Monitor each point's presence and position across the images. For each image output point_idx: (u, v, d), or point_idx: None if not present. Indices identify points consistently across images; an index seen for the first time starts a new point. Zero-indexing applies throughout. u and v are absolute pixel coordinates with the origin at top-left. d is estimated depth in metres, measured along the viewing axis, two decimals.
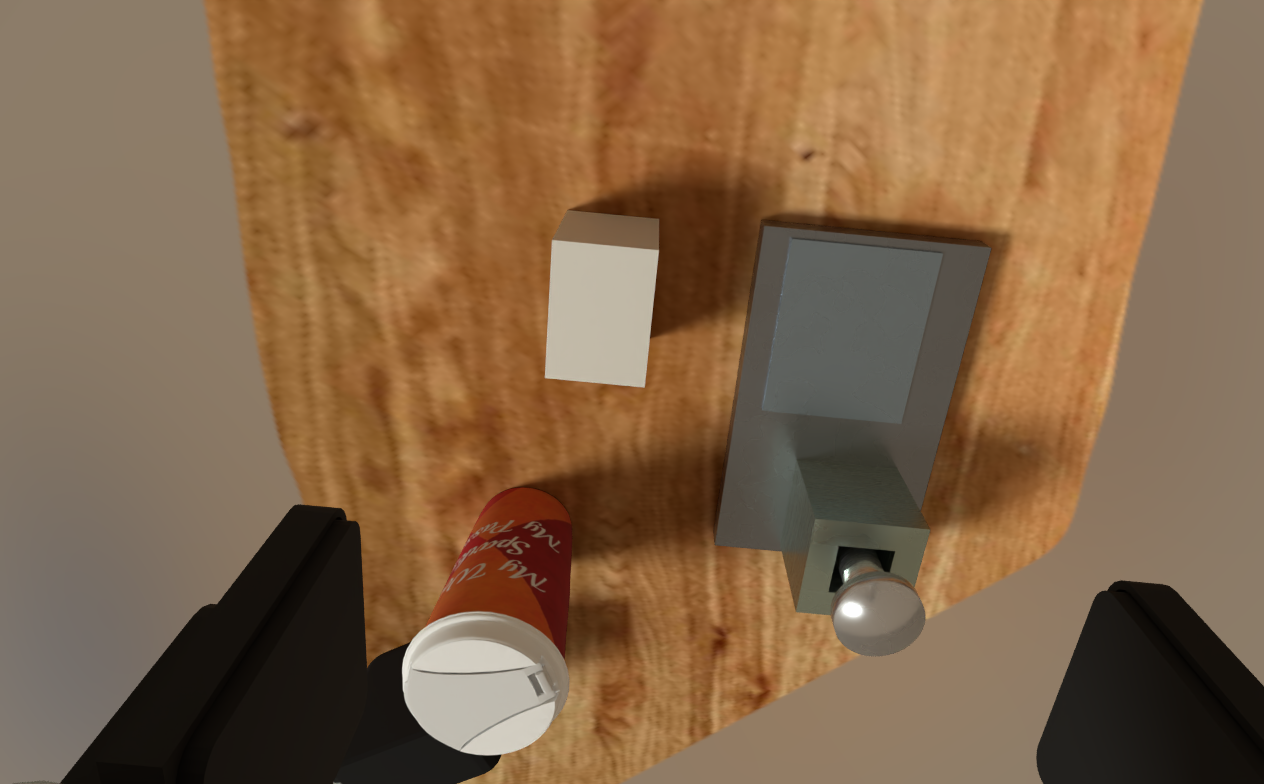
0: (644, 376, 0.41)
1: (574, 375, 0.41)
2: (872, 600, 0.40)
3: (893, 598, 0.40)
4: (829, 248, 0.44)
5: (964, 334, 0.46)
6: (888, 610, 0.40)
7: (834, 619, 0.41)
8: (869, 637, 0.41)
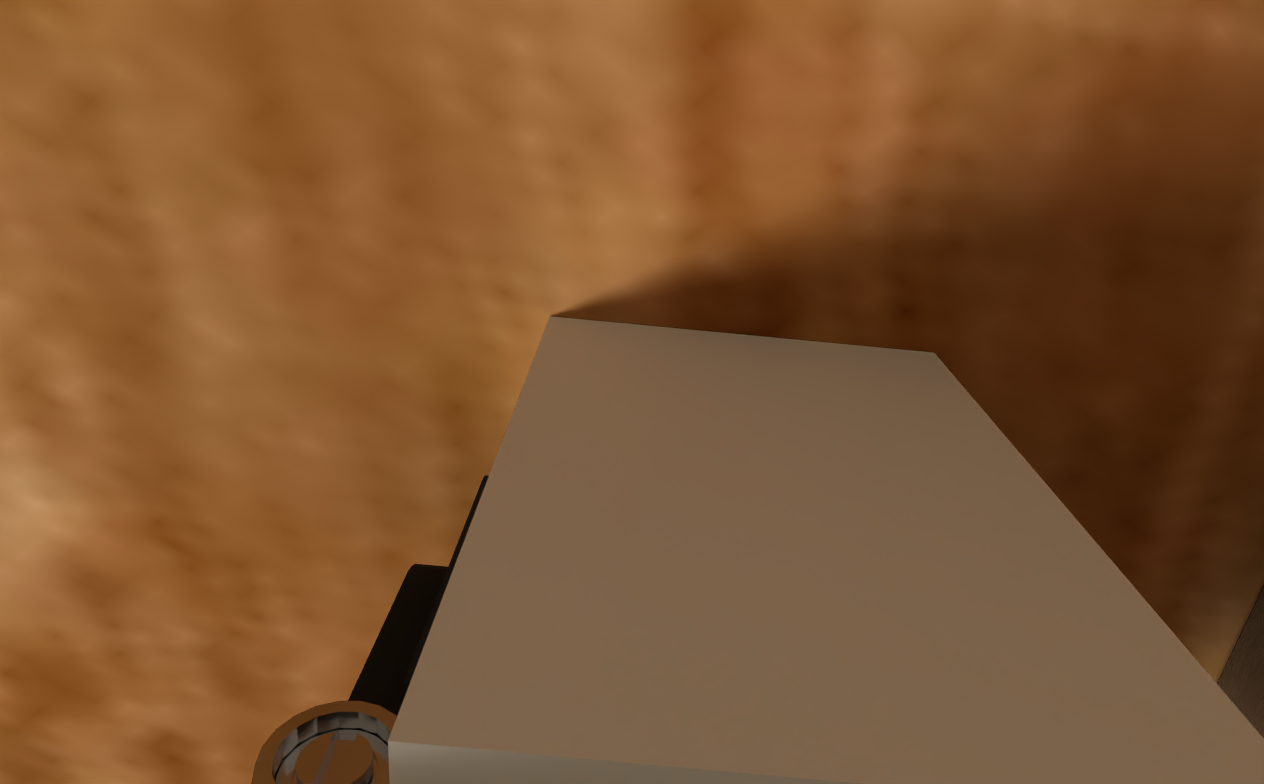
0: None
1: None
2: None
3: None
4: None
5: None
6: None
7: None
8: None
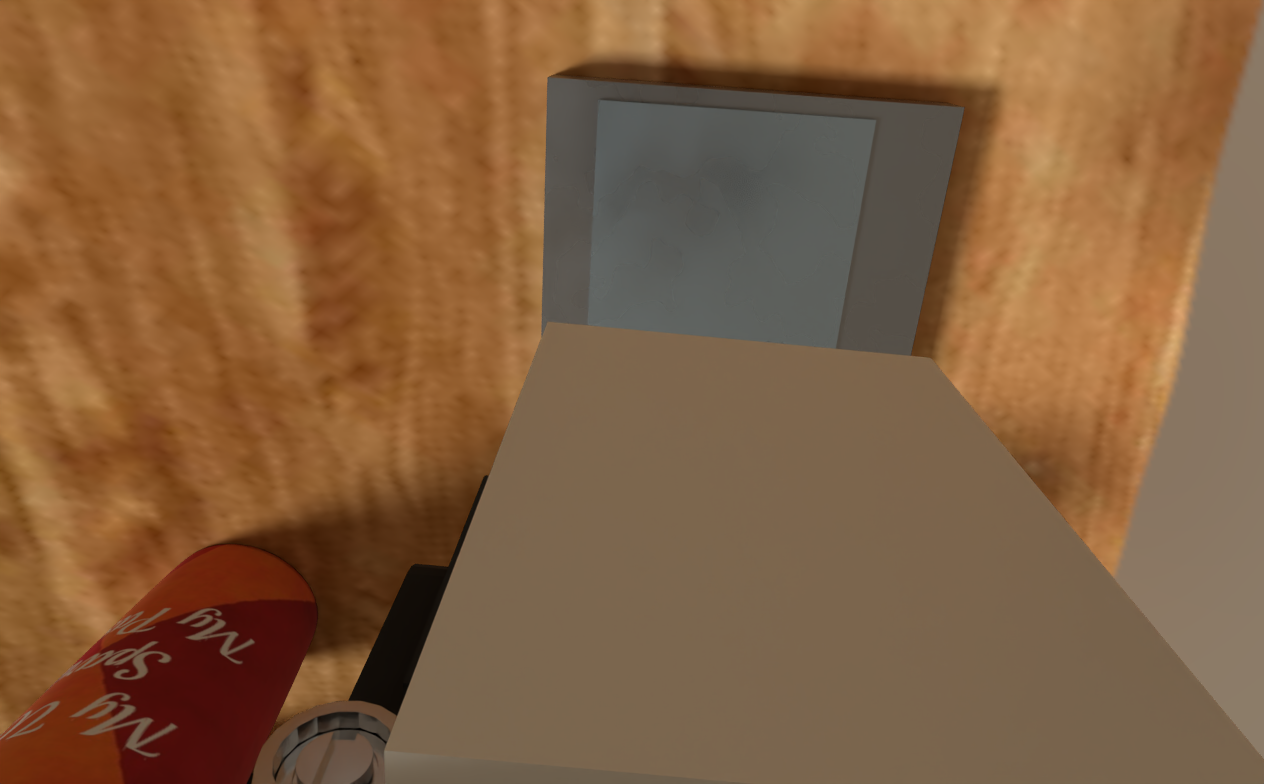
0: None
1: None
2: None
3: None
4: (668, 116, 0.24)
5: (922, 271, 0.26)
6: None
7: None
8: None
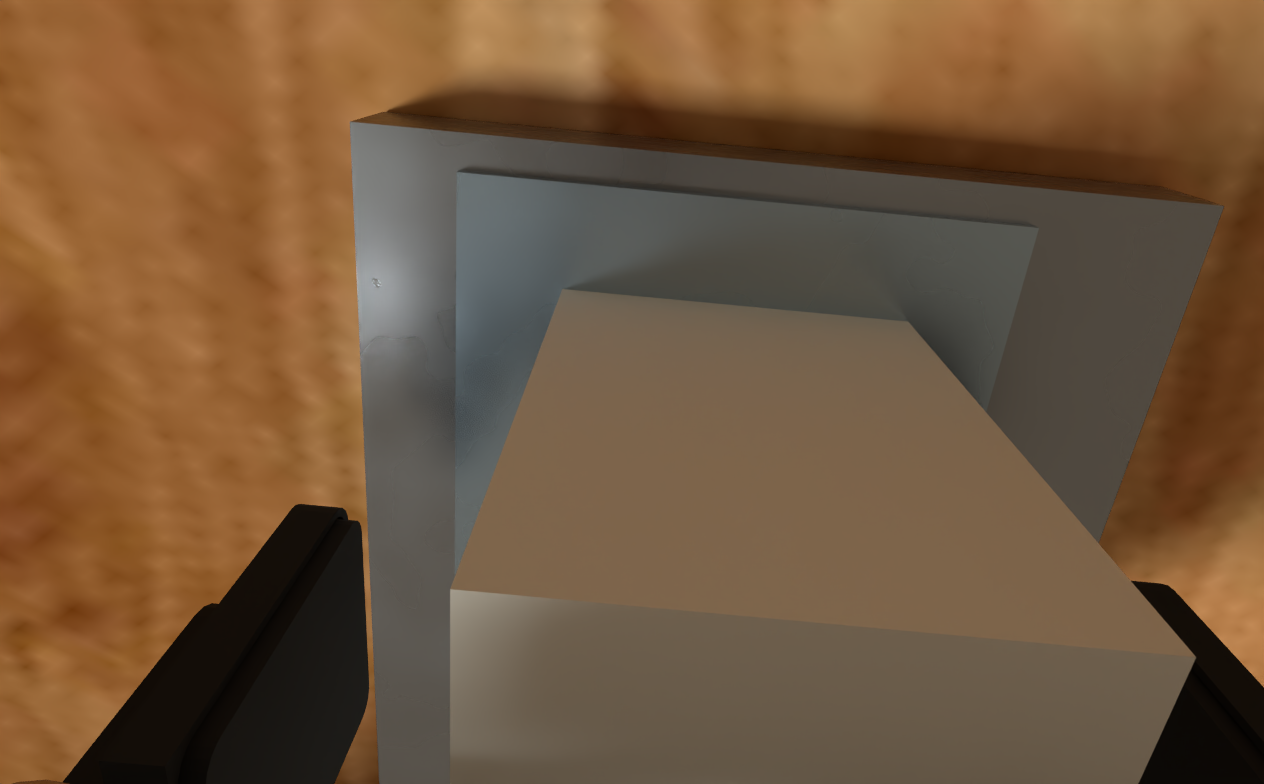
0: None
1: None
2: None
3: None
4: (604, 209, 0.11)
5: (1098, 509, 0.13)
6: None
7: None
8: None
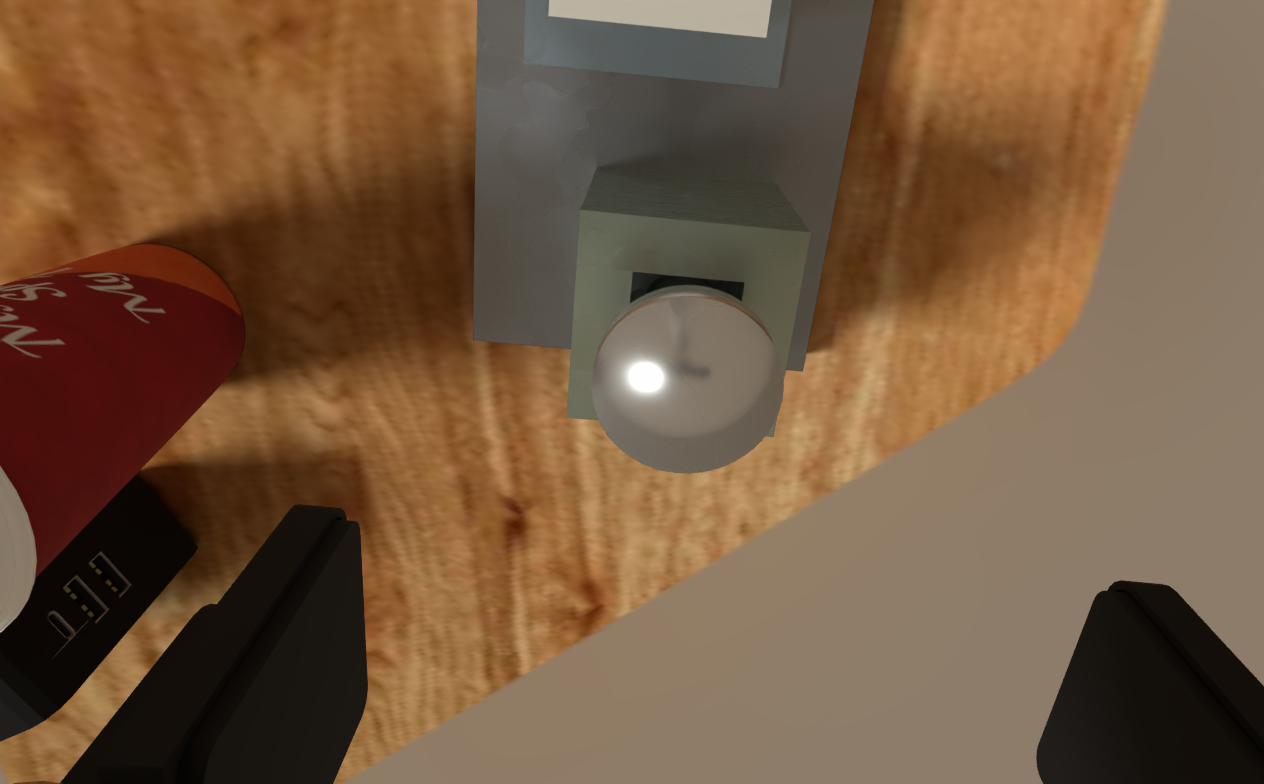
0: (767, 9, 0.19)
1: (613, 8, 0.19)
2: (667, 340, 0.19)
3: (711, 334, 0.19)
4: None
5: None
6: (703, 364, 0.19)
7: (592, 387, 0.19)
8: (670, 429, 0.20)
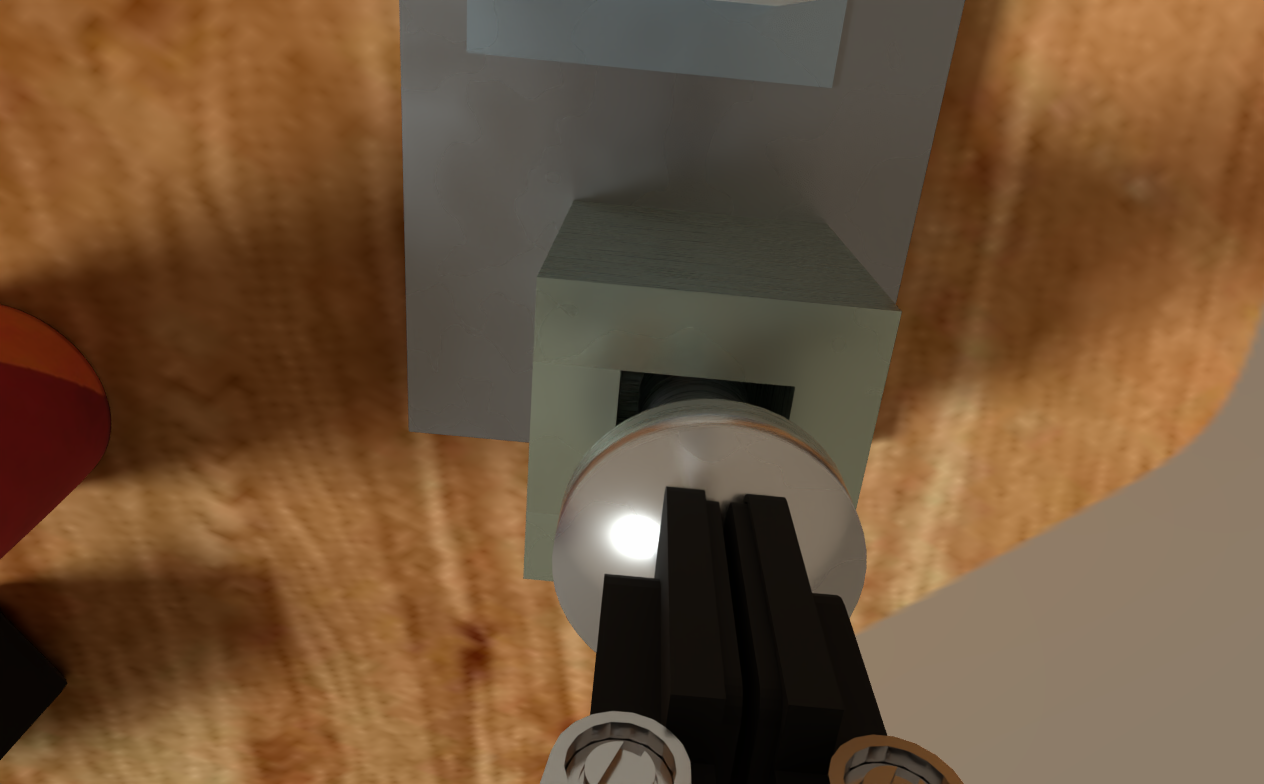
0: None
1: None
2: None
3: (749, 487, 0.11)
4: None
5: None
6: None
7: (552, 564, 0.12)
8: None
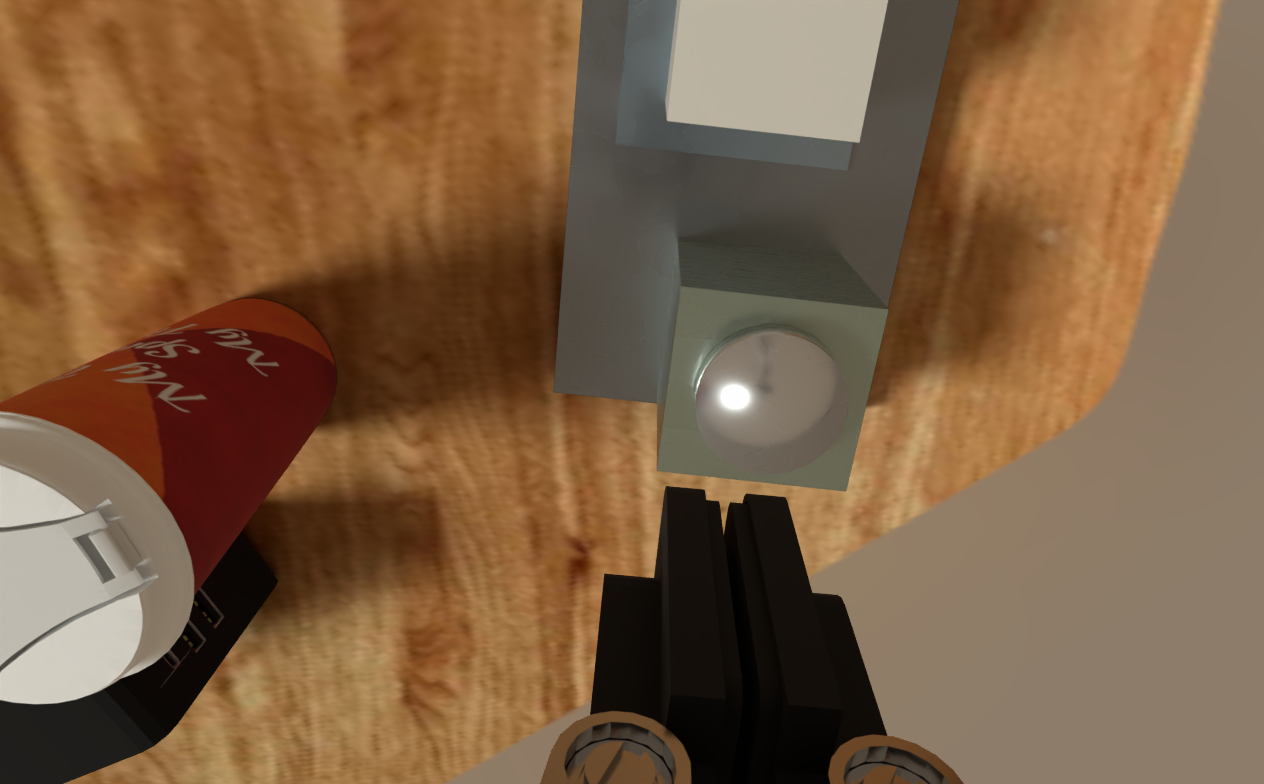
0: (861, 118, 0.21)
1: (724, 115, 0.21)
2: (758, 367, 0.24)
3: (793, 363, 0.23)
4: None
5: None
6: (785, 387, 0.24)
7: (695, 404, 0.24)
8: (756, 439, 0.24)
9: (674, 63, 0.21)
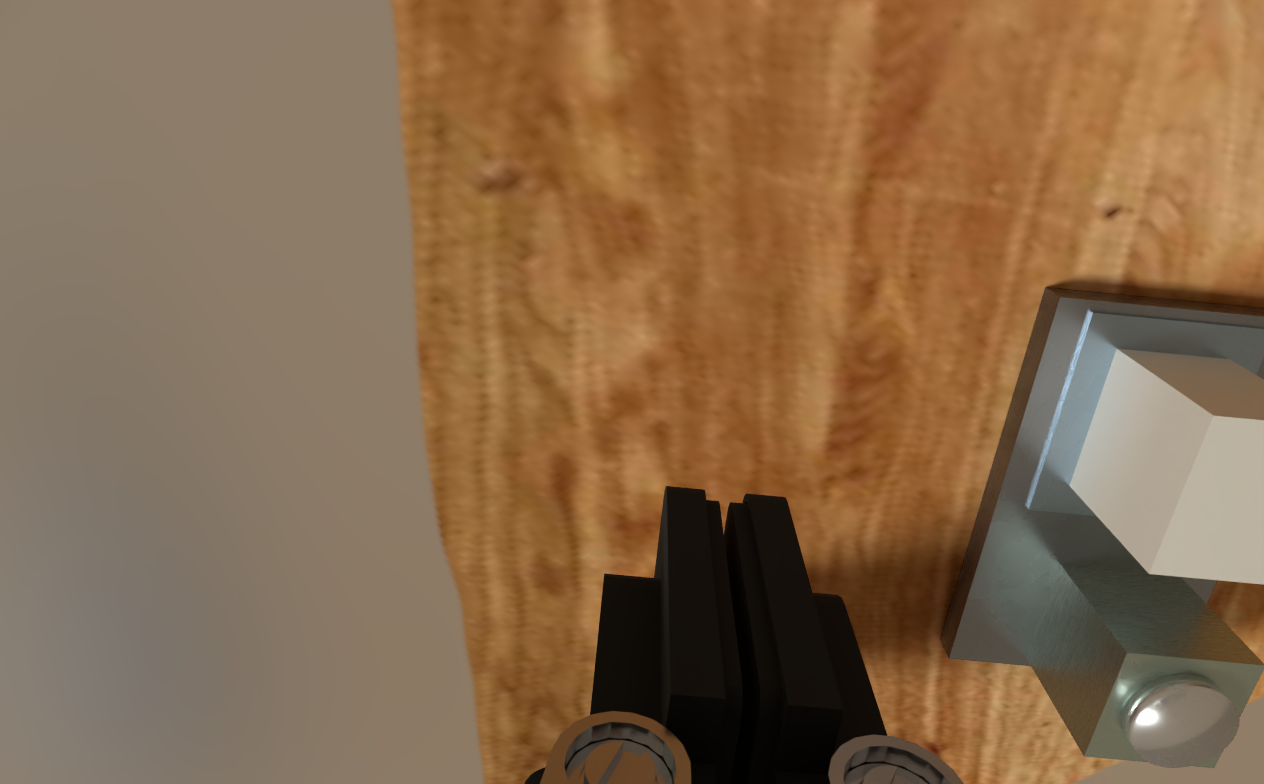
0: None
1: (1187, 571, 0.33)
2: (1181, 708, 0.35)
3: (1206, 706, 0.35)
4: (1137, 324, 0.36)
5: None
6: (1197, 719, 0.36)
7: (1132, 727, 0.36)
8: (1170, 748, 0.36)
9: (1161, 544, 0.33)
